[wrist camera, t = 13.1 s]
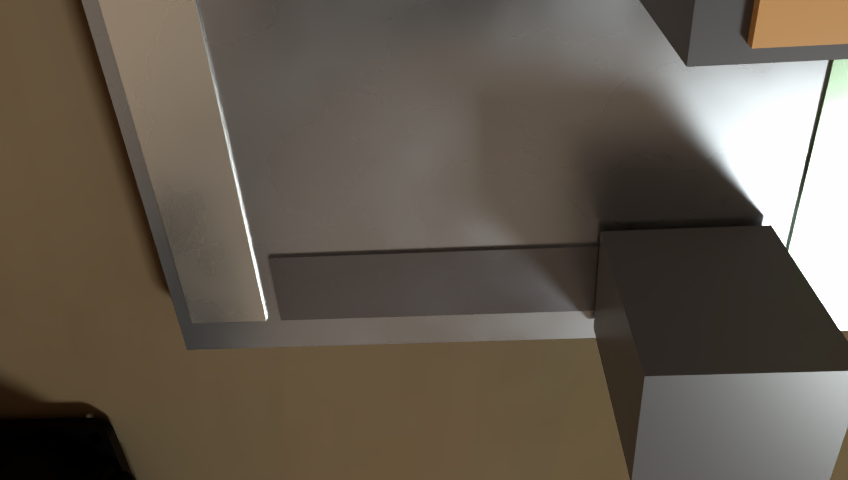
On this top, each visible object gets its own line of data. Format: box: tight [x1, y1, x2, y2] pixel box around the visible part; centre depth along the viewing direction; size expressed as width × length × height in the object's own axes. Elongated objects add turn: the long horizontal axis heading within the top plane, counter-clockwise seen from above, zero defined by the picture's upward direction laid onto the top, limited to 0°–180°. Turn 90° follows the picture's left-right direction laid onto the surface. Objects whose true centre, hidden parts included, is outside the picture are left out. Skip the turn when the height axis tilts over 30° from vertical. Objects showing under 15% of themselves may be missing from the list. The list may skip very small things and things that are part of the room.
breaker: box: [594, 225, 848, 480], centre depth 17 cm, size 4×3×5 cm
